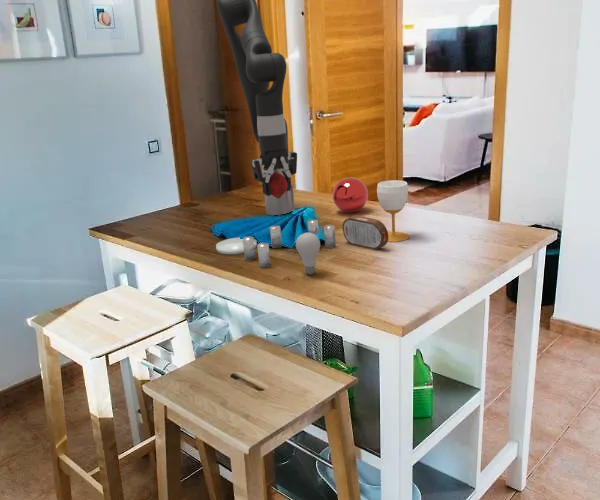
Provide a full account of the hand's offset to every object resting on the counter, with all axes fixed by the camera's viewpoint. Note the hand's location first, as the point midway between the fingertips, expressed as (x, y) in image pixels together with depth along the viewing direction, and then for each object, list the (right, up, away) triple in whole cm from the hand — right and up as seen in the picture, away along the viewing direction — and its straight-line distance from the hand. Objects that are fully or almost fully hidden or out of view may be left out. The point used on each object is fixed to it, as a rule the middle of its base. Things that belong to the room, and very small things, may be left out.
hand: (277, 192), depth 166 cm
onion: (0, -2, +1) cm, 2 cm away
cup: (+34, -12, +10) cm, 37 cm away
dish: (-12, -15, +11) cm, 23 cm away
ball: (+24, -3, +39) cm, 46 cm away
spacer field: (+4, -17, +4) cm, 17 cm away
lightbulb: (+9, -22, -14) cm, 28 cm away
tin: (+25, -15, +4) cm, 29 cm away
